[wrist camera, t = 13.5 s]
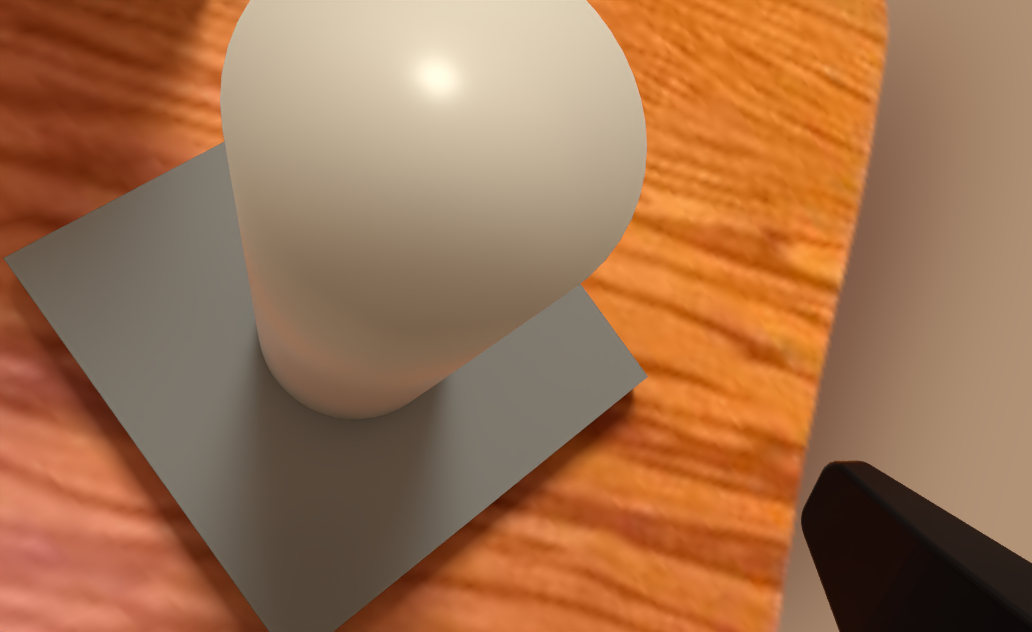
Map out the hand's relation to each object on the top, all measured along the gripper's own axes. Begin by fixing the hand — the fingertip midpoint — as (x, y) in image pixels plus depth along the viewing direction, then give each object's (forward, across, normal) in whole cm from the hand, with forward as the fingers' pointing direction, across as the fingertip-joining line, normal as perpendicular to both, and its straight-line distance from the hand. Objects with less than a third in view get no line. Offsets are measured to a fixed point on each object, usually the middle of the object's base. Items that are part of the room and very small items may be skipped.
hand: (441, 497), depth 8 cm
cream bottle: (+12, 0, +6) cm, 13 cm away
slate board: (+13, 0, +6) cm, 14 cm away
